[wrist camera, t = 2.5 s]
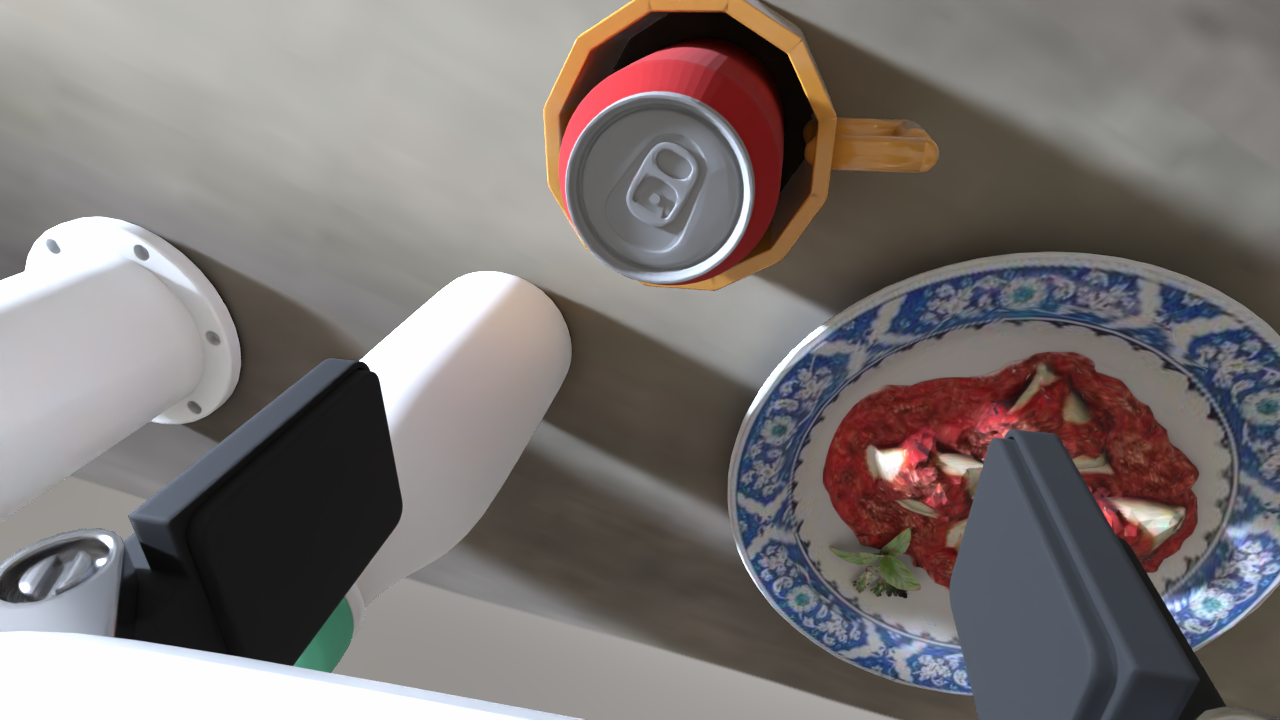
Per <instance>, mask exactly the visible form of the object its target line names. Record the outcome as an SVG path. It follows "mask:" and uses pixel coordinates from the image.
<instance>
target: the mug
mask: <svg viewBox="0 0 1280 720" xmlns="http://www.w3.org/2000/svg"><path fill="white" fill-rule="evenodd" d="M671 12H725V13H727V14H728V15H730V16H731V17H733V18H734V19H736V20H737V21H739V22H740V23H742V24H743V25H745V26H746V27H748V28H749V29H751V30H752V31H754V32H755V33H757V34H758V35H760V36H761V37H763V38H764V39H766V40H767V41H769V42H770V43H772V44H773V45H775V46H776V47H778V48H779V49H781V50H782V51H784V52H785V53H787V54H788V56H789V58H790V61H791V63H792V65H793V67H794V69H795V72H796V74H797V76H798V78H799V81H800V83H801V85H802V87H803V90H804V92H805V94H806V96H807V98H808V101H809V103H810V105H811V107H812V111H811V120H810V121H809V122H808V123H807V124H806V125H805V127H804V130H803V138H804V141H805V143H806V146H805V150H804V155H805V159H804V160H803V162H802V163H801V164H800V166H799V167H798V169H797V170H796V172H795V173H794V174H793V176H792V177H791V179H790V180H789V182H788V183H787V184H786V186H785V187H784V189H783V190H782V192H781V193H780V194H779V197H778V202H777V206H776V209H775V212H774V215H773V218H772V220H771V222H770V224H769V226H768V228H767V230H766V232H765V233H764V235H763V237H762V238H761V240H760V241H759V242H758V244H757V245H756V246H755V247H754V248H753V250H752V251H751V252H750V253H749V254H748V255H747V256H746V257H745V258H744V259H742V260H741V261H740V262H739V263H737V264H736V265H735V266H733V267H732V268H730V269H729V270H727V271H725V272H723V273H722V274H720V275H717V276H715V277H713V278H710V279H707V280H704V281H701V282H697V283H692V284H686V285H657V284H651V283H646V282H641V281H639V282H640V283H642V284H644V285H646V286H654V287H669V288H683V289H697V290H712V291H715V290H718V289H721V288H723V287H725V286H727V285H729V284H732V283H734V282H736V281H738V280H740V279H743V278H745V277H747V276H749V275H751V274H754V273H756V272H758V271H760V270H762V269H765V268H767V267H769V266H771V265H773V264H776V263H778V262H780V261H781V260H782V259H783V258H784V257H785V255H786V254H787V253H788V251H789V250H790V249H791V247H792V246H793V245H794V243H795V242H796V241H797V239H798V238H799V237H800V235H801V234H802V233H803V231H804V230H805V229H806V227H807V226H808V224H809V223H810V222H811V220H812V219H813V218H814V216H815V215H816V214H817V212H818V211H819V210H820V208H821V207H822V206H823V204H824V203H825V202H826V198H827V197H828V191H829V183H830V175H831V170H852V171H877V172H902V173H923V172H926V171H929V170H930V169H932V168H933V167H934V166H935V165H936V163H937V161H938V159H939V148H938V145H937V144H936V142H935V141H934V140H933V139H932V138H931V137H930V136H929V135H928V134H927V133H926V132H925V131H924V129H923V128H922V127H921V126H920V125H919V124H918V123H917V122H915V121H913V120H905V119H869V118H837V115H836V112H835V109H834V106H833V104H832V101H831V98H830V95H829V92H828V90H827V87H826V85H825V83H824V80H823V78H822V76H821V74H820V71H819V69H818V67H817V64H816V62H815V60H814V58H813V55H812V53H811V51H810V48H809V46H808V44H807V42H806V39H805V37H804V35H803V32H802V30H800V28H799V27H798V26H796V25H795V24H793V23H792V22H790V21H789V20H787V19H786V18H784V17H783V16H781V15H780V14H778V13H777V12H775V11H774V10H772V9H771V8H769V7H768V6H766V5H765V4H763V3H762V2H760V1H759V0H632V1H631V2H629V3H628V4H626V5H625V6H623V7H622V8H620V9H619V10H617V11H616V12H614V13H613V14H611V15H610V16H608V17H607V18H605V19H604V20H602V21H600V22H599V23H597V24H596V25H594V26H593V27H591V28H590V29H588V30H587V31H585V32H584V33H582V34H581V35H579V37H577V38H576V41H575V43H574V45H573V47H572V49H571V51H570V53H569V55H568V57H567V60H566V62H565V64H564V66H563V68H562V70H561V72H560V74H559V76H558V79H557V81H556V83H555V85H554V87H553V89H552V91H551V93H550V95H549V98H548V100H547V102H546V104H545V106H544V111H543V114H544V130H545V146H546V163H547V179H548V185H549V188H550V190H551V192H552V193H553V195H554V197H555V198H556V200H557V202H558V203H559V205H560V207H561V208H562V210H563V212H564V213H565V215H566V217H567V218H568V220H569V222H570V223H571V221H570V219H569V217H568V214H567V212H566V209H565V206H564V203H563V199H562V195H561V190H560V183H559V156H560V149H561V144H562V140H563V137H564V134H565V131H566V128H567V126H568V123H569V121H570V119H571V117H572V115H573V113H574V112H575V110H576V109H577V107H578V105H579V104H580V103H581V102H582V100H583V99H584V98H585V97H586V95H587V94H588V93H589V92H590V91H591V90H592V89H593V88H594V87H595V86H597V85H598V84H599V83H600V82H601V81H603V80H604V79H606V78H607V77H609V76H610V75H611V73H612V71H613V69H614V68H615V66H616V64H617V62H618V60H619V58H620V56H621V54H622V52H623V50H624V48H625V46H626V44H627V42H628V40H629V39H630V38H631V37H633V36H635V35H636V34H638V33H639V32H641V31H642V30H644V29H646V28H647V27H649V26H650V25H652V24H653V23H655V22H657V21H658V20H660V19H661V18H663V17H664V16H666V15H668V14H669V13H671ZM571 225H572V223H571ZM572 227H573V225H572ZM573 228H574V227H573ZM574 230H575V228H574ZM575 232H576V230H575ZM576 233H577V232H576ZM577 235H578V233H577ZM578 237H579V238H580V236H579V235H578ZM580 240H581V242H582V243H583V245H584V247H585V248H586V249H587V250H589V249H588V247H587V246H586V245H585V244H584V242H583V241H582V239H581V238H580ZM589 251H590V250H589ZM590 252H591V251H590ZM637 281H638V280H637Z"/></svg>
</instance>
